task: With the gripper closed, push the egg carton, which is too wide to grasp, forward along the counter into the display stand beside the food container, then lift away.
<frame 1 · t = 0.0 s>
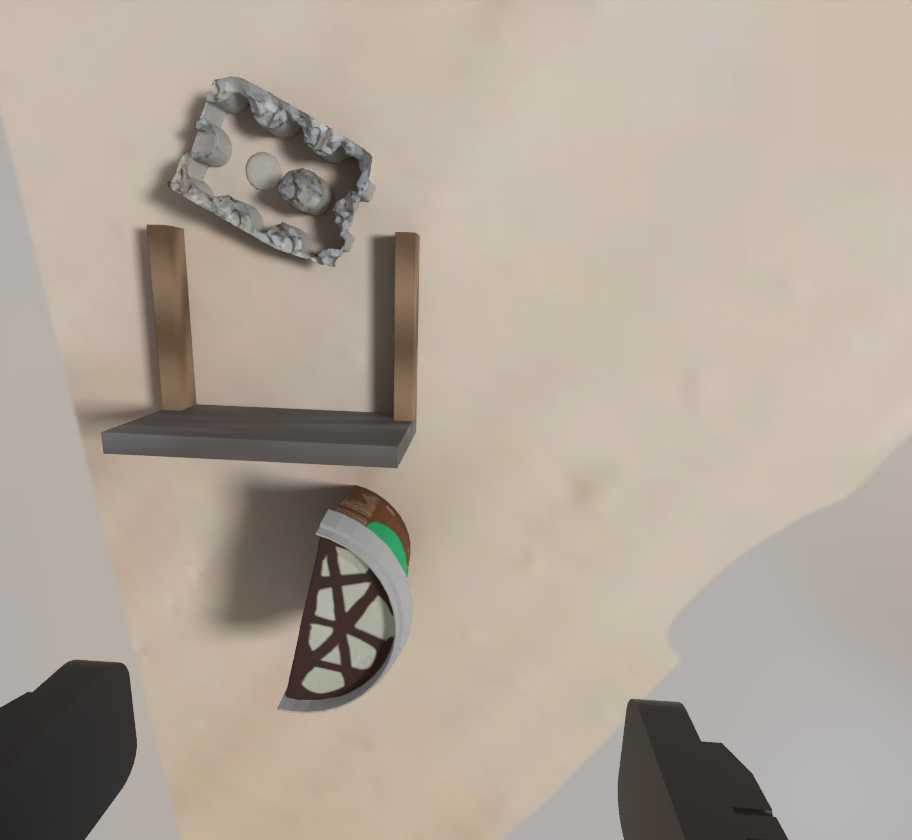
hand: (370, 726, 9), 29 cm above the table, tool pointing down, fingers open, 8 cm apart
egg carton: (292, 182, 35), on the table
food container: (383, 554, 41), on the table
display stand: (293, 327, 37), on the table
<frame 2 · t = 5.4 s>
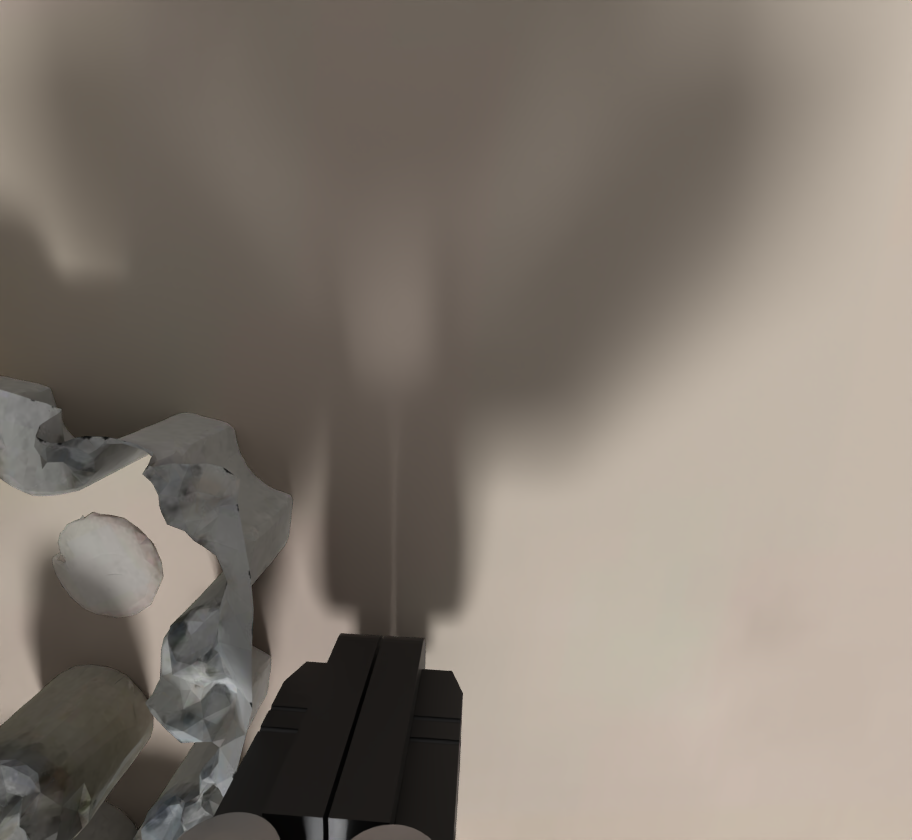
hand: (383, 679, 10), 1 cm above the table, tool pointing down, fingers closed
egg carton: (127, 628, 12), on the table, touching gripper
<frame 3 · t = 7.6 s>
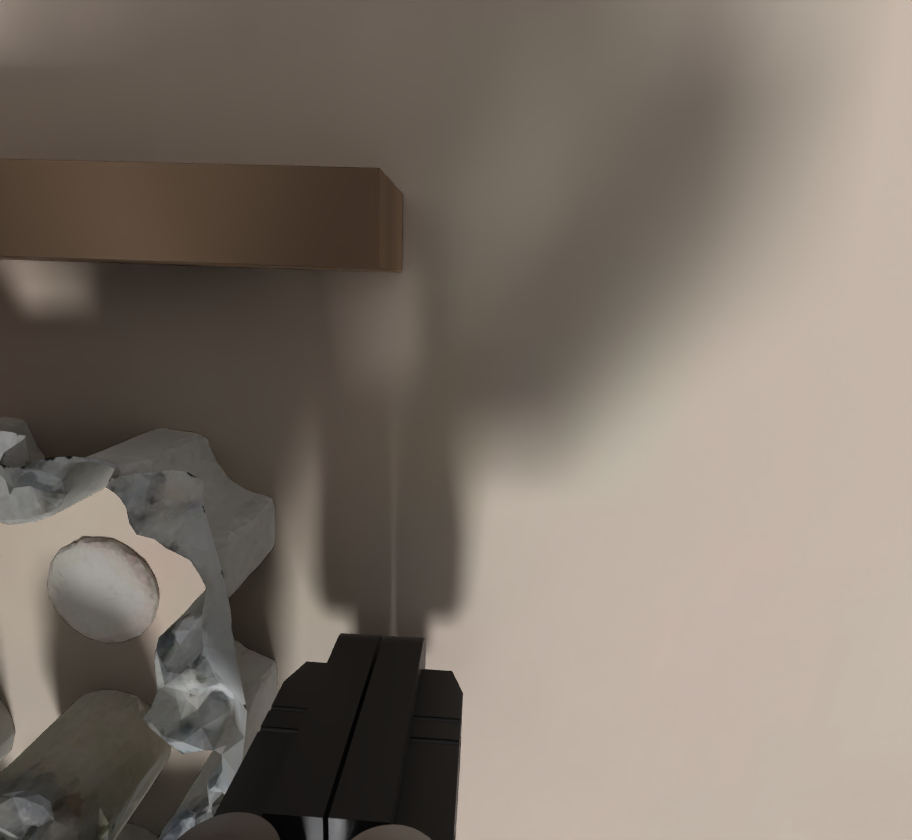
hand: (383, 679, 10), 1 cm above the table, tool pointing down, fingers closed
egg carton: (133, 652, 12), on the table
display stand: (95, 629, 11), on the table
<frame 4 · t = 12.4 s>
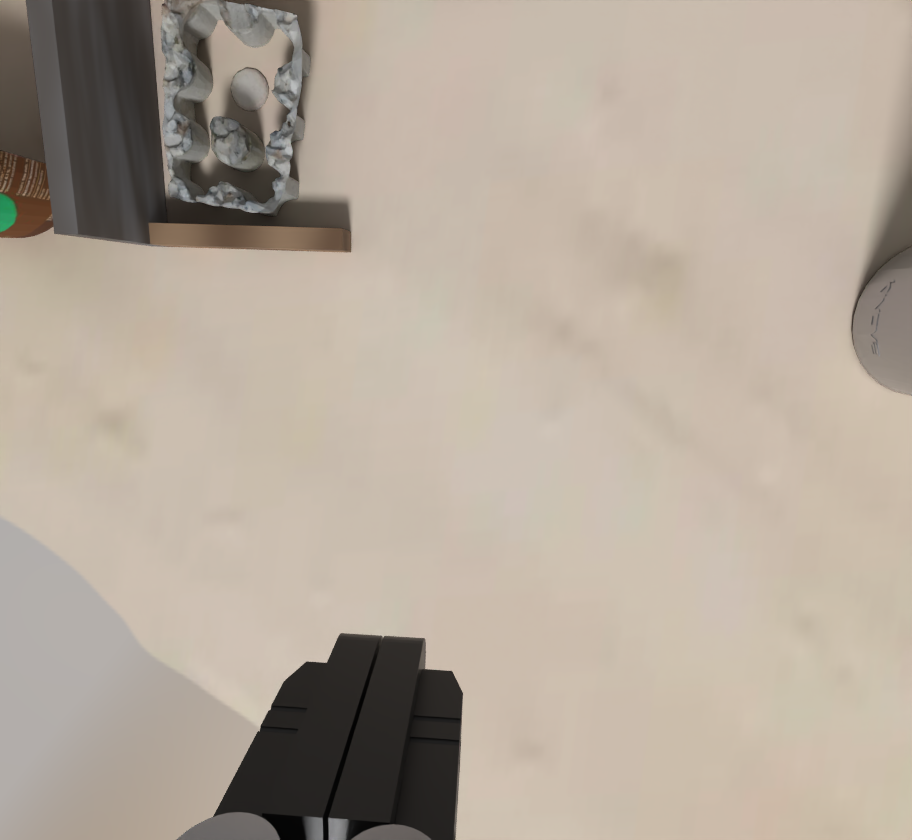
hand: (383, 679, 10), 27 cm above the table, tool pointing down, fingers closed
egg carton: (254, 123, 34), on the table
food container: (5, 205, 35), on the table
display stand: (248, 103, 33), on the table
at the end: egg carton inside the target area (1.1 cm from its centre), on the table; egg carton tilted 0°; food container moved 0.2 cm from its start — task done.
